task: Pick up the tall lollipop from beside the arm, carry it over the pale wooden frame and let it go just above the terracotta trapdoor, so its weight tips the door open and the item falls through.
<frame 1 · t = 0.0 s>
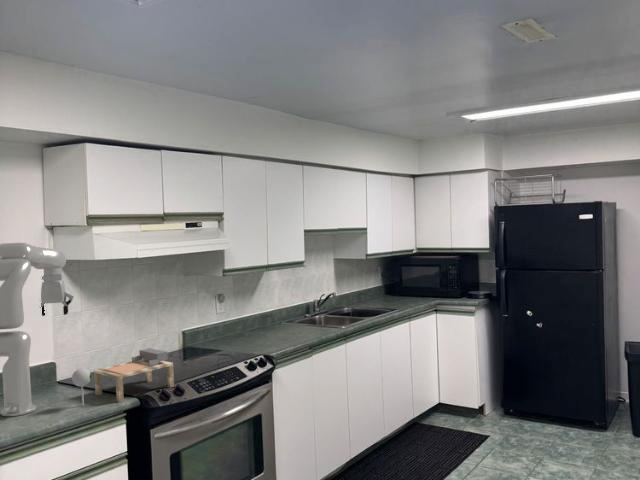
hand: (54, 314, 275), 31 cm above the worktop, tool pointing down, fingers open, 9 cm apart
lollipop: (83, 406, 235), on the worktop
trapdoor: (136, 361, 255), point 12 cm above the worktop, hinge at 0.0°
trapdoor frame: (129, 392, 252), on the worktop
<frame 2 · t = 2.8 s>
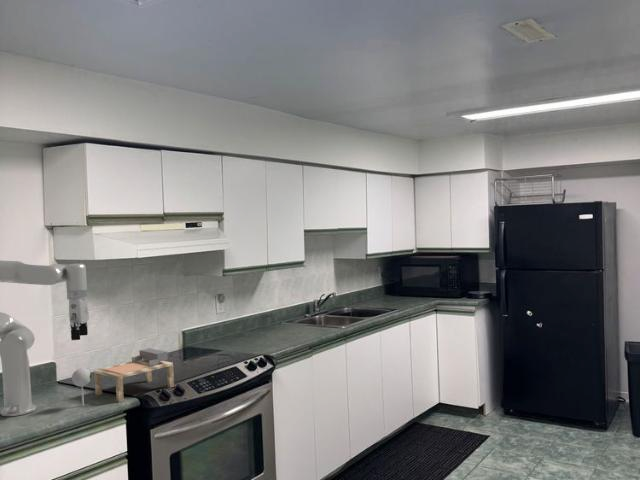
hand: (79, 337, 235), 27 cm above the worktop, tool pointing down, fingers open, 9 cm apart
nothing on the worktop moved.
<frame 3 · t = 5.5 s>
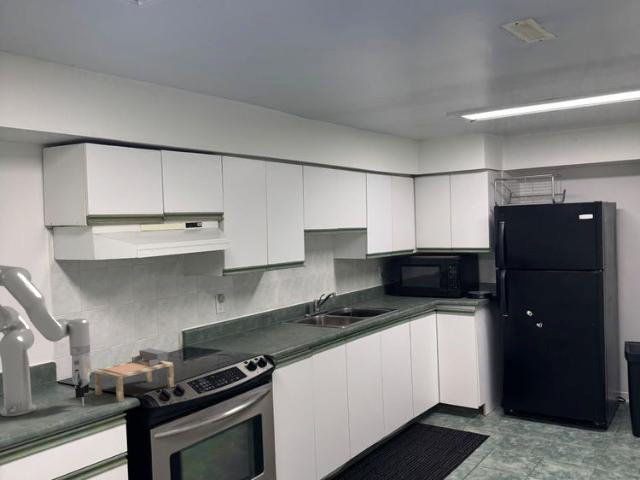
hand: (82, 394, 235), 4 cm above the worktop, tool pointing down, fingers closed on lollipop, 5 cm apart
lollipop: (83, 406, 235), on the worktop, touching gripper
everything else where it was.
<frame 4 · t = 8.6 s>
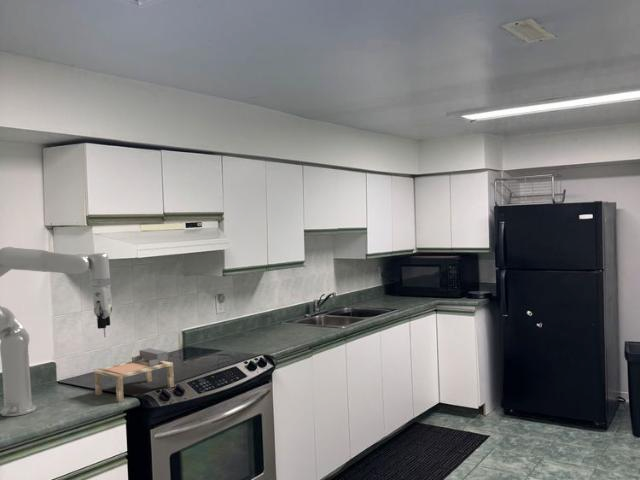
hand: (104, 326, 243), 30 cm above the worktop, tool pointing down, fingers closed on lollipop, 5 cm apart
lollipop: (105, 337, 243), point 25 cm above the worktop, touching gripper
everything else where it was.
when the fingers open (18 cm above the worktop, at t = 11.7 s): lollipop drops 4 cm, resting on trapdoor.
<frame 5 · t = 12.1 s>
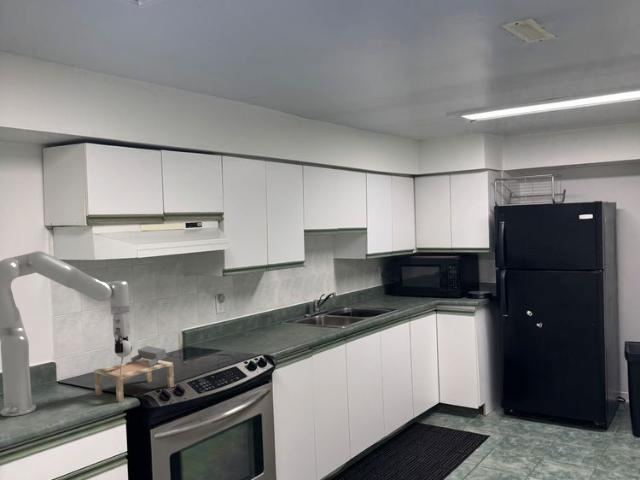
hand: (122, 350, 250), 19 cm above the worktop, tool pointing down, fingers open, 9 cm apart
lollipop: (120, 376, 246), point 9 cm above the worktop, touching gripper, trapdoor
trapdoor: (135, 362, 255), point 12 cm above the worktop, hinge at -9.1°, touching lollipop
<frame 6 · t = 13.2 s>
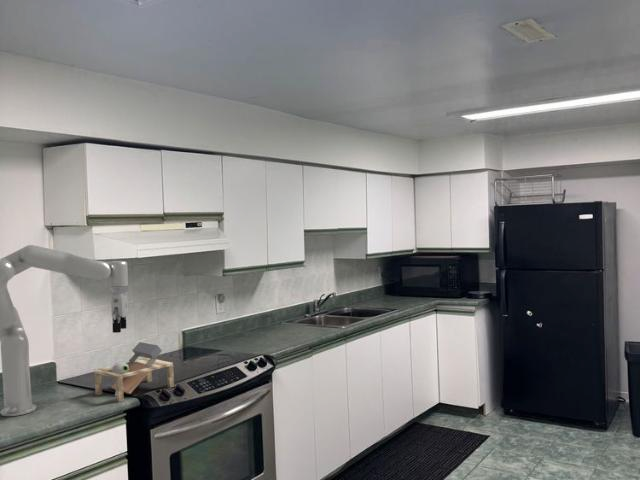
hand: (119, 330, 249), 27 cm above the worktop, tool pointing down, fingers open, 9 cm apart
lollipop: (115, 396, 246), touching trapdoor frame
trapdoor: (135, 367, 254), point 10 cm above the worktop, hinge at -36.2°, touching lollipop
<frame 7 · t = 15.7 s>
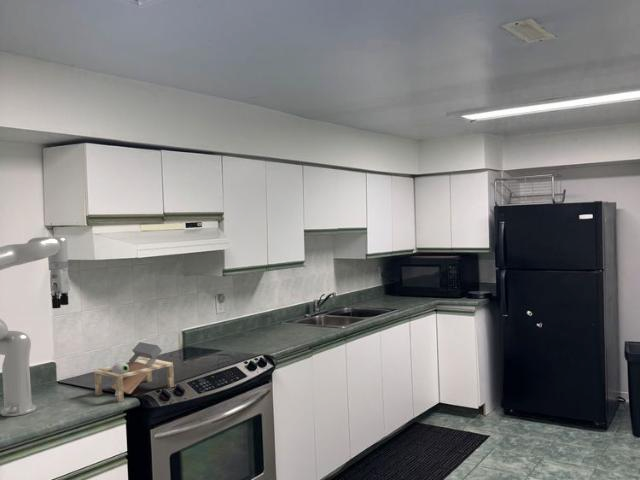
hand: (60, 306, 249), 38 cm above the worktop, tool pointing down, fingers open, 9 cm apart
nothing on the worktop moved.
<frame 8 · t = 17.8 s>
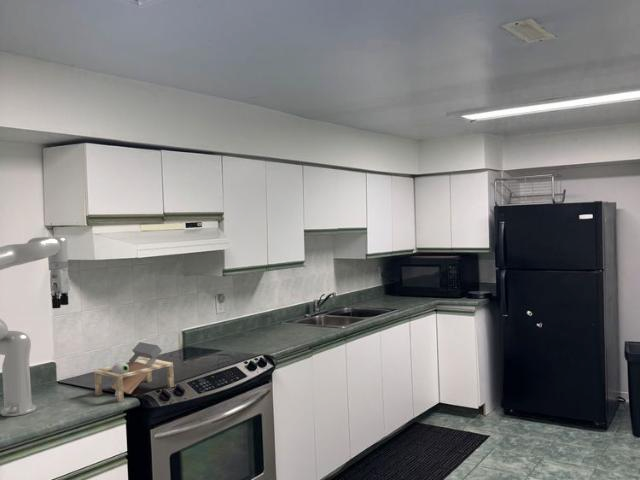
hand: (60, 306, 249), 38 cm above the worktop, tool pointing down, fingers open, 9 cm apart
nothing on the worktop moved.
at the end: lollipop on the worktop; lollipop 7.3 cm from the trapdoor frame (horizontally); the gripper is holding nothing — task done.
